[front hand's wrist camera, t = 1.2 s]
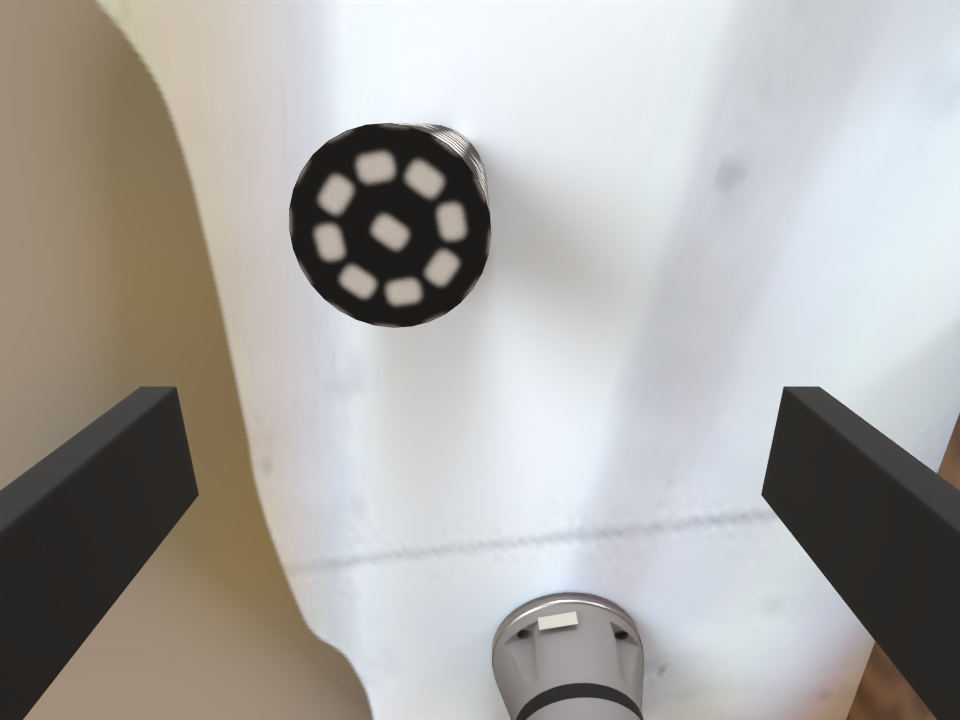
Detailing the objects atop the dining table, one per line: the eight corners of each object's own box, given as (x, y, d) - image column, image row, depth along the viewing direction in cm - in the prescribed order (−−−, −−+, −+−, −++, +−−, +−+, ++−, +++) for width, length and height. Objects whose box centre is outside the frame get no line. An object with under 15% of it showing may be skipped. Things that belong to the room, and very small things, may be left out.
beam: (860, 796, 69) (903, 873, 62) (818, 795, 69) (856, 872, 62) (1070, 284, 45) (1180, 313, 38) (1007, 283, 45) (1104, 312, 38)
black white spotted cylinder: (509, 171, 42) (531, 208, 23) (445, 263, 45) (419, 362, 26) (413, 98, 40) (355, 75, 22) (351, 198, 43) (253, 255, 24)
